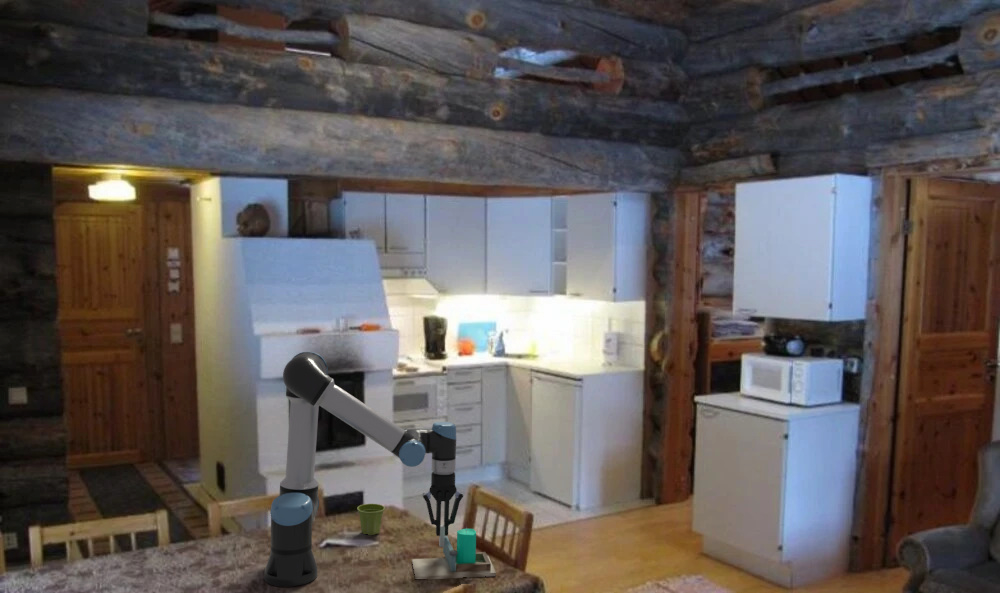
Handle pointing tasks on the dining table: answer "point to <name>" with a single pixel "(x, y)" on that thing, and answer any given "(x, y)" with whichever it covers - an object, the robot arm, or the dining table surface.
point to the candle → (466, 546)
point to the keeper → (450, 554)
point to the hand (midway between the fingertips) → (441, 545)
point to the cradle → (441, 569)
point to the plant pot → (370, 518)
